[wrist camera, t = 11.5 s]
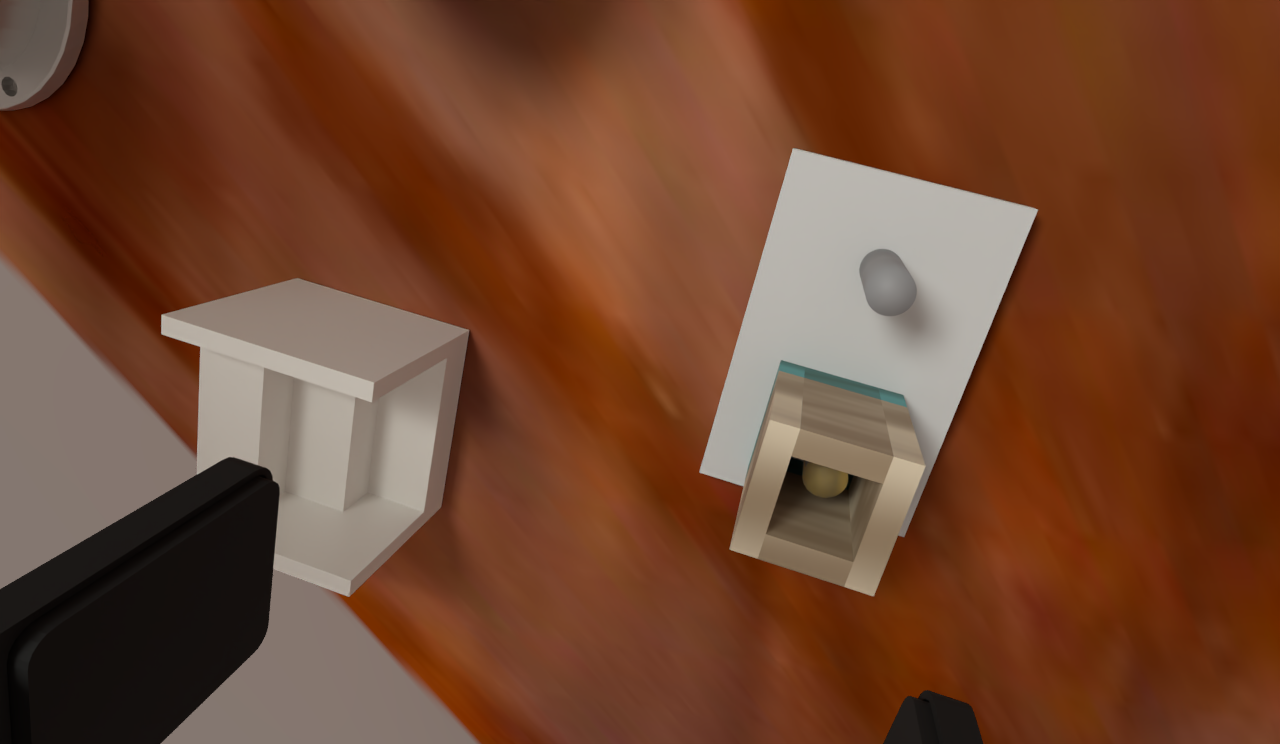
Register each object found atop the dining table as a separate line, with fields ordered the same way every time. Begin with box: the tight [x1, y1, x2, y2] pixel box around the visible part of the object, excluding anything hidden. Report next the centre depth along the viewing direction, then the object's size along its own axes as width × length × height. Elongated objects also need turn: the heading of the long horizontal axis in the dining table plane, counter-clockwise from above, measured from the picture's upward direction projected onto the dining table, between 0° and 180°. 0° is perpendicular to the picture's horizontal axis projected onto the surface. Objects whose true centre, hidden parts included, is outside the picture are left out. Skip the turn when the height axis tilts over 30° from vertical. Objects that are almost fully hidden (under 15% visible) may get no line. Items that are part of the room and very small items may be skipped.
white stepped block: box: [161, 278, 469, 597], centre depth 34 cm, size 9×10×8 cm
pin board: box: [700, 148, 1038, 537], centre depth 29 cm, size 9×14×6 cm, turn 167°
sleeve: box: [729, 360, 926, 596], centre depth 28 cm, size 5×5×7 cm
